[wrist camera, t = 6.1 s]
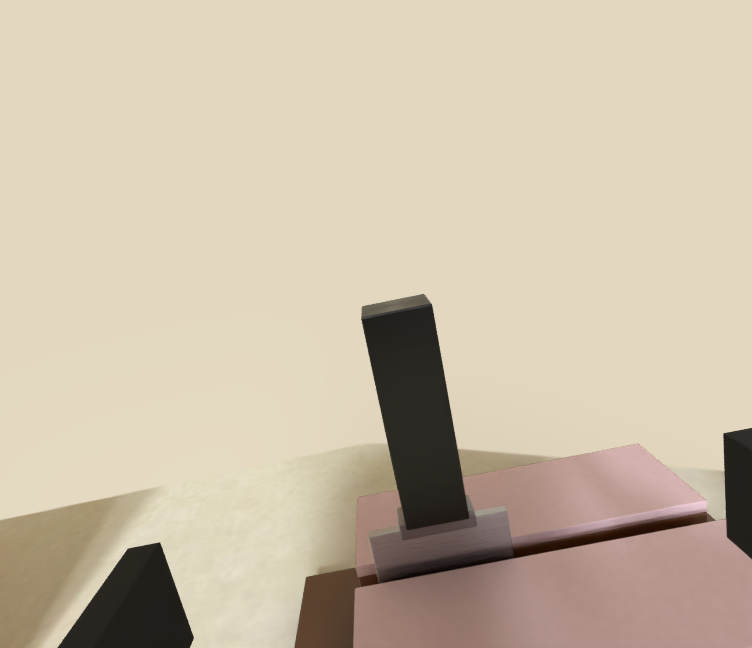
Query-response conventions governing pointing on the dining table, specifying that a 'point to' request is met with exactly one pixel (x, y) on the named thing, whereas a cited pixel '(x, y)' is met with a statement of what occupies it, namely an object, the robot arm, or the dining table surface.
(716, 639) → the cake
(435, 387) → the dark upright knife handle
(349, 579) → the cake board
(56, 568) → the dining table surface
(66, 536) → the dining table surface
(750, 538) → the robot arm
